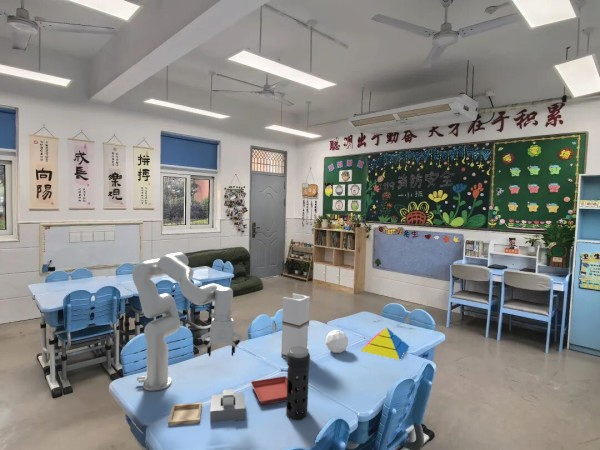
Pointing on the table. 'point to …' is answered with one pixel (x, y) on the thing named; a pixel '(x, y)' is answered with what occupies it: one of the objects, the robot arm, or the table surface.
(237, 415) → the block
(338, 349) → the geodesic sphere
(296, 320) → the white banded pillar
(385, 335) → the pyramid toy
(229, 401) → the plug
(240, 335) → the robot arm
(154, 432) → the table surface
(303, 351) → the muzzle brake
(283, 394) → the plant saucer
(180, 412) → the tray
